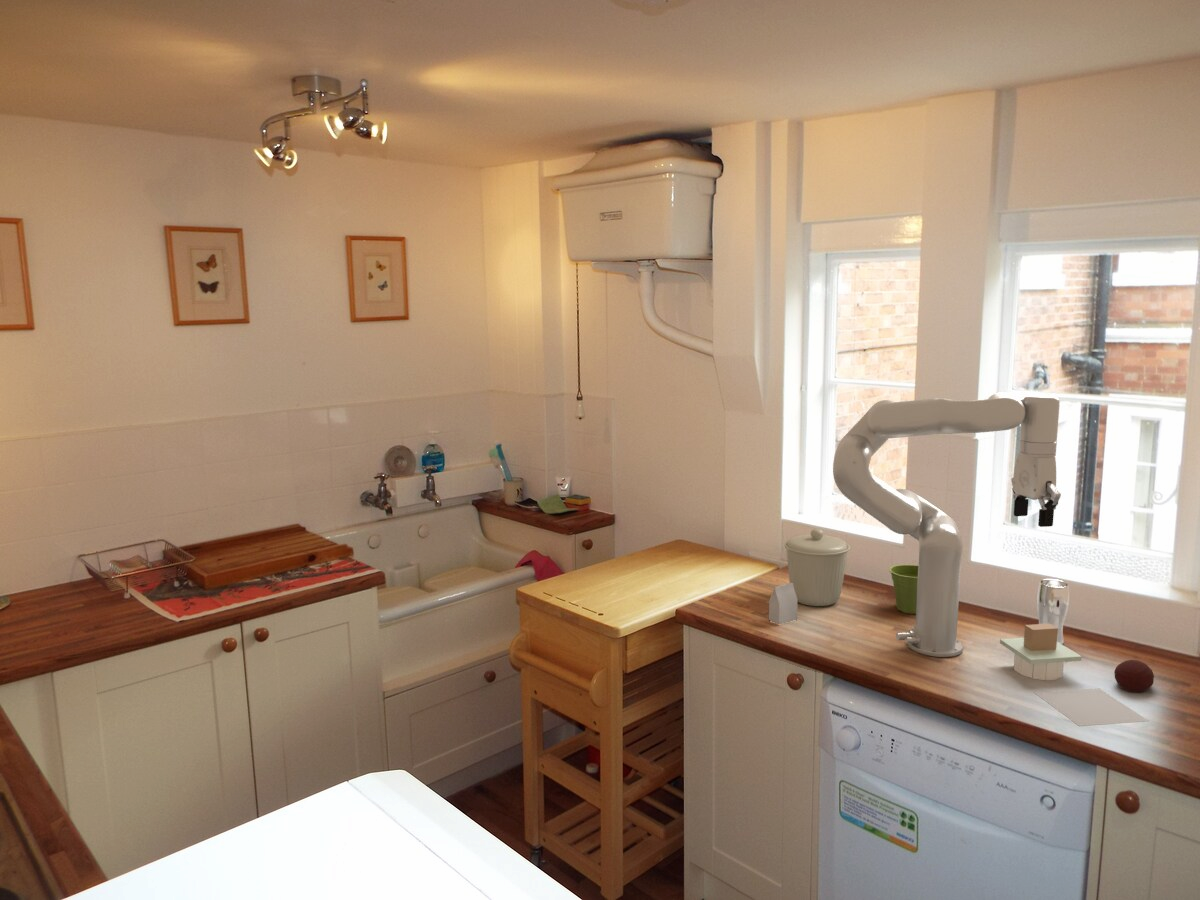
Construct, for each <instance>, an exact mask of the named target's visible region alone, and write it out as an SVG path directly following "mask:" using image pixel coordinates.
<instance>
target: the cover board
mask: <svg viewBox="0 0 1200 900" xmlns="http://www.w3.org/2000/svg"><path fill="white" fill-rule="evenodd" d="M1057 633H1058V628H1056V627H1055V626H1053V625H1051V624H1039V623H1037V624H1035V623H1033V624H1024V633H1023V635H1024V637H1014V638H1000V639H999V644H1001V646H1004V647H1005V648H1006V649H1007V650H1009V651H1010V652H1012V653H1013V654H1014V655H1015V654H1016V655H1018V656H1019V657H1021V658H1022V659H1024V660H1025V661H1027V662H1028V663H1030V664H1040V663H1055V662H1064V663H1066V662H1067V663H1069V662H1079V661H1080V662H1082V658H1083V656H1081V655H1080V654H1078V653H1077V652H1075V651H1074V650H1072V649H1070V648H1069V647H1067V646H1065V645H1063V644H1060V643H1059V642H1057Z"/></svg>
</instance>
